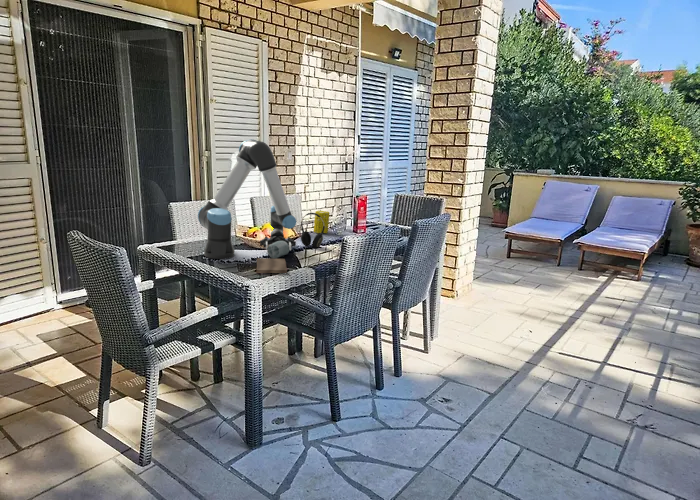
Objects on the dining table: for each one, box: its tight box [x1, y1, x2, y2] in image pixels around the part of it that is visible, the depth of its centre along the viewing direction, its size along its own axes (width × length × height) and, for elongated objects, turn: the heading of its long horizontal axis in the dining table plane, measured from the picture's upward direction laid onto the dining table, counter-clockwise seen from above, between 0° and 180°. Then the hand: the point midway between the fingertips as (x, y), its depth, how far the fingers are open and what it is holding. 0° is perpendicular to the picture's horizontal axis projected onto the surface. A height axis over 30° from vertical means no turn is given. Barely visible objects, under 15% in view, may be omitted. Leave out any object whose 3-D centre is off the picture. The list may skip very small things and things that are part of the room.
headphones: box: [300, 212, 325, 249], centre depth 266 cm, size 9×15×20 cm, turn 69°
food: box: [313, 209, 330, 234], centre depth 302 cm, size 15×12×10 cm
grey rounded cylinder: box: [266, 241, 290, 259], centre depth 244 cm, size 14×10×10 cm
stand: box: [256, 257, 288, 274], centre depth 226 cm, size 14×18×2 cm
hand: (278, 247), depth 240 cm, fingers closed on grey rounded cylinder, 11 cm apart
